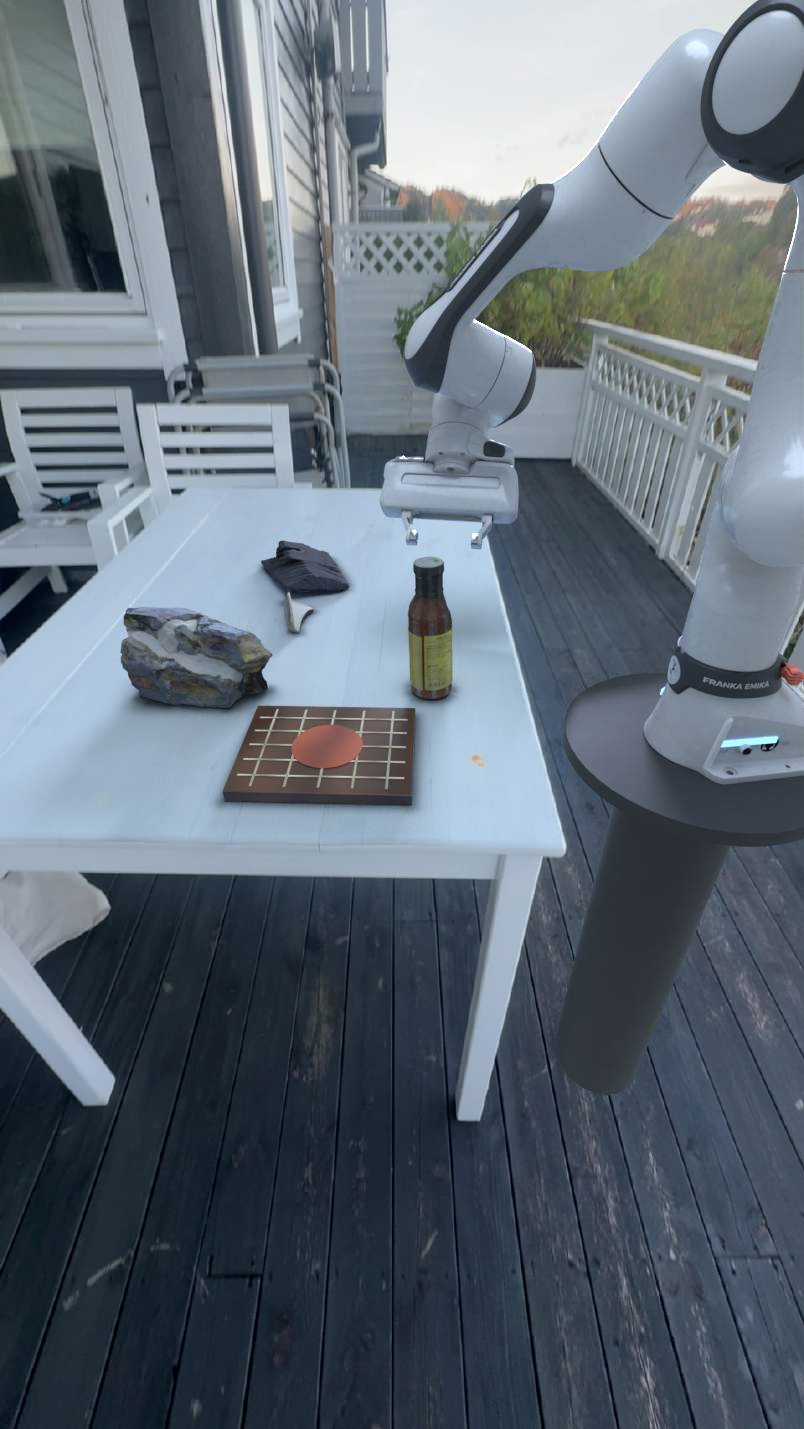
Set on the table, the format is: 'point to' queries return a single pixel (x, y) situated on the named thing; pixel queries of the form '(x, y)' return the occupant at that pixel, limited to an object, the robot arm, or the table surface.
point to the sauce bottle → (430, 632)
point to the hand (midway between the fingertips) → (443, 545)
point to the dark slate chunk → (304, 569)
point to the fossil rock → (191, 658)
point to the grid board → (326, 756)
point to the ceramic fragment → (295, 613)
